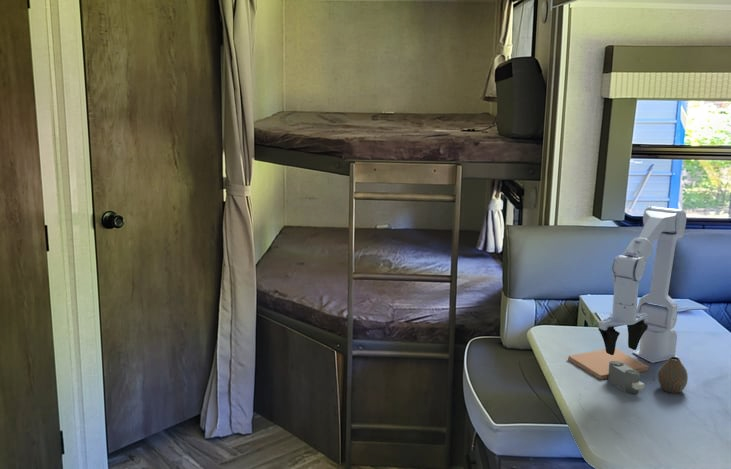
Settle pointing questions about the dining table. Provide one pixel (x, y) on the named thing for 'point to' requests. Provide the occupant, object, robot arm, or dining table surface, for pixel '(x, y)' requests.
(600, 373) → the mat
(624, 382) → the plug
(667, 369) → the vase
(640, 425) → the dining table surface
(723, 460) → the dining table surface
